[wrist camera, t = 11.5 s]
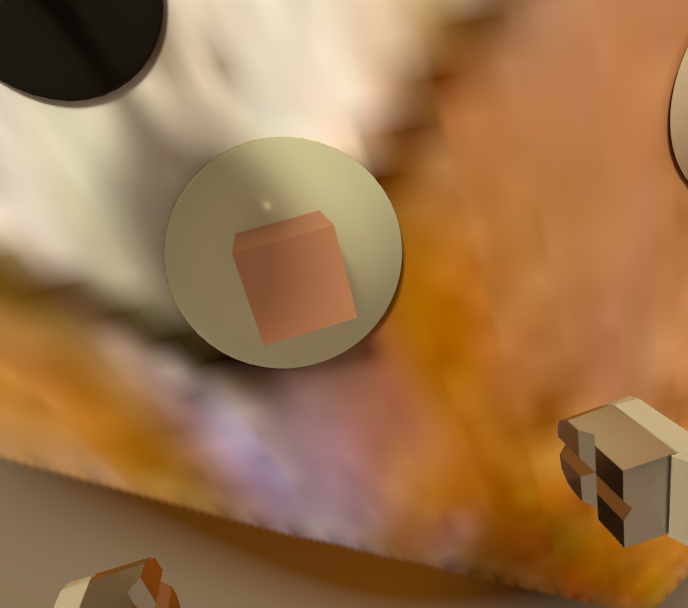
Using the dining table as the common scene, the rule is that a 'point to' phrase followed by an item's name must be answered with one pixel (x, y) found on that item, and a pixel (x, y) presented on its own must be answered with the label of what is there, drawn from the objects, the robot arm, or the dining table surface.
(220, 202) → the tile
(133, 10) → the wine glass
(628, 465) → the robot arm
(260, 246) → the orange cube
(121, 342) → the dining table surface
